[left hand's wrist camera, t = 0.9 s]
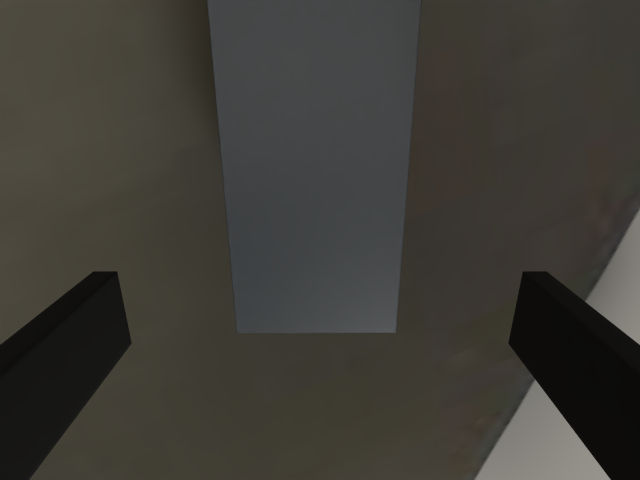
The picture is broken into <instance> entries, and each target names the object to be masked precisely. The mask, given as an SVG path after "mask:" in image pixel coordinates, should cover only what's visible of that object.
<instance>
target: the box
mask: <svg viewBox="0 0 640 480" xmlns="http://www.w3.org/2000/svg"><path fill="white" fill-rule="evenodd" d="M421 2H422V0H207V6H208V17H209V28H210V40H211V51H212V62H213V73H214V84H215V96H216V107H217V118H218V129H219V140H220V152H221V163H222V174H223V185H224V196H225V208H226V219H227V230H228V241H229V252H230V264H231V275H232V286H233V297H234V308H235V320H236V331H237V333H387V332H396V326H397V313H398V300H399V287H400V274H401V261H402V248H403V235H404V222H405V209H406V197H407V184H408V171H409V158H410V145H411V132H412V119H413V106H414V93H415V80H416V67H417V54H418V41H419V28H420V15H421Z"/></svg>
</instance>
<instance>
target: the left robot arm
mask: <svg viewBox="0 0 640 480" xmlns="http://www.w3.org/2000/svg"><path fill="white" fill-rule="evenodd" d="M130 345H131V338H130V333H129V328H128V323H127V318H126V313H125V309H124V304H123V299H122V294H121V289H120V284H119V279H118V274H117V272H92V273H91V274H90V275H88V276H87V277H86V278H85V279H83V280H82V281H81V282H80V283H78V284H77V285H76V286H74V287H73V288H72V289H71V290H69V291H68V292H67V293H66V294H64V295H63V296H62V297H61V298H59V299H58V300H57V301H55V302H54V303H53V304H52V305H50V306H49V307H48V308H47V309H45V310H44V311H43V312H42V313H40V314H39V315H38V316H36V317H35V318H34V319H33V320H31V321H30V322H29V323H28V324H26V325H25V326H24V327H23V328H21V329H20V330H19V331H17V332H16V333H15V334H14V335H12V336H11V337H10V338H9V339H7V340H6V341H5V342H4V343H2V344H1V345H0V480H29V479H30V478H31V476H32V475H33V474H34V473H35V471H36V470H37V469H38V467H39V466H40V465H41V463H42V462H43V461H44V459H45V458H46V457H47V455H48V454H49V453H50V451H51V450H52V449H53V447H54V446H55V445H56V443H57V442H58V441H59V439H60V438H61V437H62V435H63V434H64V433H65V431H66V430H67V429H68V427H69V426H70V425H71V423H72V422H73V421H74V419H75V418H76V417H77V415H78V414H79V413H80V411H81V410H82V409H83V407H84V406H85V405H86V403H87V402H88V401H89V399H90V398H91V397H92V395H93V394H94V393H95V391H96V390H97V389H98V387H99V386H100V385H101V383H102V382H103V381H104V379H105V378H106V377H107V375H108V374H109V373H110V371H111V370H112V369H113V367H114V366H115V365H116V363H117V362H118V361H119V359H120V358H121V357H122V355H123V354H124V353H125V351H126V350H127V349H128V347H129V346H130ZM509 345H510V346H511V347H512V349H513V350H514V351H515V353H516V354H517V355H518V357H519V358H520V359H521V361H522V362H523V363H524V365H525V366H526V367H527V369H528V370H529V371H530V373H531V374H532V375H533V377H534V378H535V379H536V381H537V382H538V383H539V385H540V386H541V387H542V389H543V390H544V391H545V393H546V394H547V395H548V397H549V398H550V399H551V401H552V402H553V403H554V405H555V406H556V407H557V409H558V410H559V411H560V413H561V414H562V415H563V417H564V418H565V419H566V421H567V422H568V423H569V425H570V426H571V427H572V429H573V430H574V431H575V433H576V434H577V435H578V437H579V438H580V439H581V440H582V442H583V443H584V445H585V446H586V447H587V449H588V450H589V451H590V452H591V454H592V455H593V457H594V458H595V459H596V461H597V462H598V463H599V465H600V466H601V467H602V468H603V470H604V471H605V472H606V474H607V475H608V476H609V478H610V479H611V480H640V345H639V344H638V343H636V342H635V341H634V340H633V339H631V338H630V337H629V336H628V335H626V334H625V333H624V332H622V331H621V330H620V329H619V328H617V327H616V326H615V325H614V324H612V323H611V322H610V321H609V320H607V319H606V318H605V317H604V316H602V315H601V314H600V313H598V312H597V311H596V310H595V309H593V308H592V307H591V306H590V305H588V304H587V303H586V302H585V301H583V300H582V299H581V298H579V297H578V296H577V295H576V294H574V293H573V292H572V291H571V290H569V289H568V288H567V287H566V286H564V285H563V284H562V283H560V282H559V281H558V280H557V279H555V278H554V277H553V276H552V275H550V274H549V273H548V272H523V274H522V279H521V284H520V289H519V294H518V299H517V304H516V309H515V313H514V318H513V323H512V328H511V333H510V338H509Z"/></svg>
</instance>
